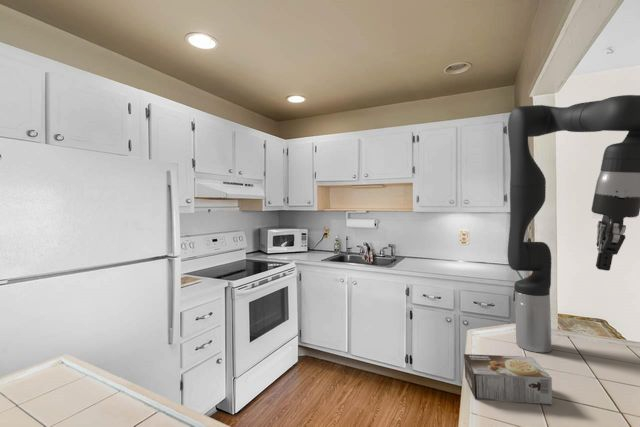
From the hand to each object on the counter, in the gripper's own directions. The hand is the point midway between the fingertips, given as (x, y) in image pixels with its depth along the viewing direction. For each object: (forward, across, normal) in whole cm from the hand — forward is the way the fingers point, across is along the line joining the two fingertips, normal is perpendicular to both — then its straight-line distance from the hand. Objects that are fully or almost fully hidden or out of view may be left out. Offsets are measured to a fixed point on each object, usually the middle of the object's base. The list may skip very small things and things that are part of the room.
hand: (602, 269), depth 69 cm
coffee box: (+27, +8, -8) cm, 29 cm away
